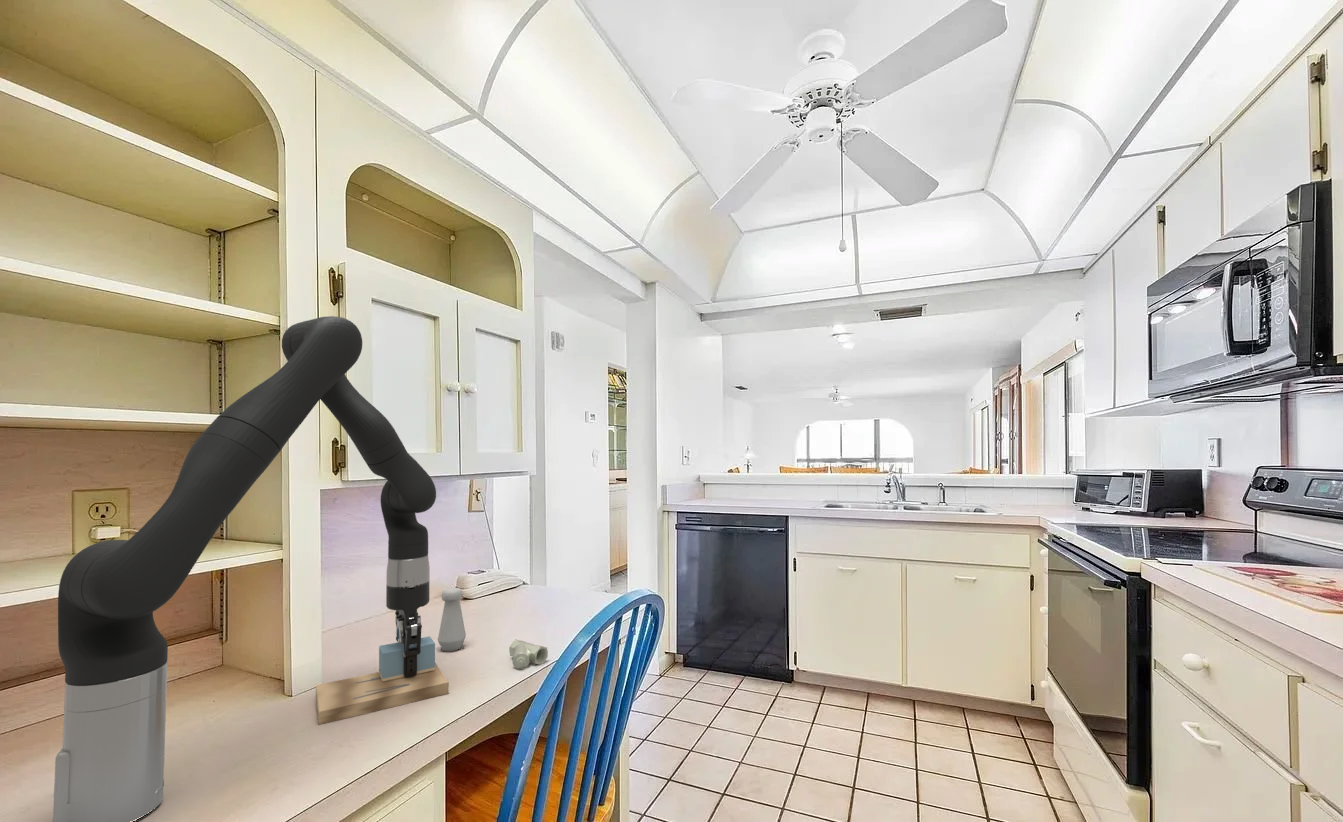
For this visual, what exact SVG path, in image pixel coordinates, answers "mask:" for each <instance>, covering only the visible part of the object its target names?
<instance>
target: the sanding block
mask: <svg viewBox="0 0 1343 822" xmlns="http://www.w3.org/2000/svg"><path fill="white" fill-rule="evenodd" d="M412 648H414V644H411V645H409V649H412ZM420 649H421V652H420V654H418V655H417V674H420V673H424V672H429V671H433V670H435V663H436V642H435V641H434V640H433V639H432V637H431V636H424V637H421V647H420ZM378 653H379V654H378V672H379V674H380V677H381V679H382V682H383V681H388V680H392V679H397V678H401V677H404V656H403V645H402V644H400V642H397V641H396V642H393V643H388V644H382V645H379V646H378Z"/></svg>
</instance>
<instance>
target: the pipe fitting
mask: <svg viewBox="0 0 1343 822" xmlns="http://www.w3.org/2000/svg"><path fill="white" fill-rule="evenodd" d="M509 656H510V657H512V665H513V667H514V668H515V669H516V670H520V669H526V668H527V667H528V666H529V664H530V663H532V664H537V665H543V664H545V662H546V660H547V659H548V657H549V651H548V647H545V646H542V645H539V644H534V643H531V642H527V641H524V640H520V639H515V640H513V641H512V643H510V645H509Z"/></svg>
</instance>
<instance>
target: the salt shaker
mask: <svg viewBox="0 0 1343 822" xmlns="http://www.w3.org/2000/svg"><path fill="white" fill-rule="evenodd" d="M462 598H463V590H462V589H461V588H459V587H449V588H448V587H447V588H445V589H444V590H443V591H442V592H441V600H442V601H444V605H443V609H442V614H441V615H442V617H441V621H440V626H439V632H438V636H437V642H438V644H439V646H440V648H441V650H442V652H449V651H451V652H454V650H455V651H458V649H459V650H460V649H461V648H462V647H463V645H464V643H465V640H466V637H467V636H466V635H467V633H466V629H465V623H464V617H463V612H462V606H461V599H462Z"/></svg>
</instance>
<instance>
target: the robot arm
mask: <svg viewBox="0 0 1343 822" xmlns="http://www.w3.org/2000/svg"><path fill="white" fill-rule="evenodd" d="M362 350H363V337H362V333H361V331H360V329H359V328H358V327H357V325H356V324H355V323H353V321H351V320H350V319H347V318H345V317H341V316H335V315H334V316H333V315H330V316H321V317H317V318H313V319H308V320H303V321H300V322H298V323H294V324H292V325H290V326H289V327H288V328H287V329H286V330H285V331H284V333H283V335H282V339H281V351H282V353H283V355H284V357H285V359H286V361H287V362H286V363H285V364H284V365H283V366H282V367H281V368H280V369H278V371H277V372H275V373H274V374H272V376H270V377H268V378H267V379H266V380H264V381H262V382H261V383H259V384H258V385H257V386H255V387H253V388H252V389H250V390H249V391H247V392H246V393H245V394H243V395H241V396H240V397H239V398H237V399H236V400H235V401H234V402H232V403H231V404H230V405H229V406H228V407H226V408H225V409H224V410H223V411H222V412H220V414H219V415H218V416H217V417H216V418H215V419H214V420H213V421H212V422H211V423H210V425H208V426H207V427H206V429H205V430H204V431H202V433H201V434H200V436H199V437H198V438H197V439H196V440H195V441H194V443H192V445H191V447H190V448H189V450H188V452H187V454H186V456H185V458H184V461H183V463H182V465H181V468H180V471H179V474H178V476H177V479H176V482H175V484H174V487H173V489H172V490H171V492H170V494H169V496H168V497H167V499H165V501H164V503H163V504H162V505H161V507H160V508H159V509H158V510H157V511H156V512H155V513H154V514H153V515H152V517H151V518H149V520H147V522H146V523H145V524H144V525H142V527H141V528H140V529H139V530H137V532H135V534H133V535H132V536H131V537H130V538H129V539H109V540H102V541H100V542H96V543H93V544H90V545H89V546H87V547H85V548H83V549H82V550H80V551H79V552H78V553H76V555H74V556H73V557H72V558H71V559H70V560H69V562H67V564H66V566H65V567H64V569H63V572H62V573H61V576H60V581H59V585H58V593H57V594H58V595H57V596H58V597H57V639H58V640H57V641H58V643H57V644H58V646H57V647H58V653H59V657H60V659H61V661H62V664H63V666H64V682H65V684H64V704H63V705H64V706H63V722H62V724H63V727H62V745H61V746H62V747H61V749H60V750H59V751H58V753H57V754H56V756H55V758H54V759H55V761H54V787H53V788H54V789H53V807H52V811H53V812H52V822H130V821H133V820H135V819H137V818H139V817H141V816H143V815H145V814H147V813H148V812H150V811H151V810H153V809H154V808H156V807H157V806H158V805H159V804H160V803H161V804H162V802H163V800H164V799H163V798H164V787H165V779H164V778H165V755H166V753H165V752H166V751H165V750H166V721H167V720H166V719H167V718H166V716H167V714H166V713H167V690H168V689H167V688H168V687H167V686H168V685H167V684H168V683H167V681H168V657H169V656H168V651H169V649H168V648H169V647H168V641H167V639H166V638H165V637H164V635H163V634H162V633H161V632H160V631H159V629H158V627H157V625H156V622H155V619H154V612H156V611H157V610H159V609H160V608H161V607H163V606H164V605H165V604H167V603H168V601H170V599H172V597H174V595H175V594H176V593H177V592H178V591H179V589H180V587H182V584H184V582H185V581H186V579H187V577H188V576H189V574H190V572H191V571H192V569H194V566H195V565H196V564H197V561H198V560H199V558H200V557H201V555H202V554H203V552H204V551H205V549H206V548H207V546H208V545H209V543H210V541H211V540H212V539H213V537H214V535H215V534H216V532H218V530H219V529H220V527H221V525H222V524H223V523H224V521H225V520H226V519H227V517H228V516H229V515H230V514H231V513H232V512H233V511H234V509H235V508H236V507H237V505H238V504H239V503H240V502H241V501H242V499H243V498H244V497H245V495H246V494H247V492H248V491H249V490H250V489H251V487H252V486H253V485H254V484H255V482H256V481H257V480H259V478H260V477H261V475H262V474H263V473H265V471H266V470H267V469H268V467H269V466H270V465H271V464H272V462H273V461H274V460H275V459H276V458H277V456H278V454H279V453H280V452H281V451H282V449H283V447H284V446H285V445H286V444H287V442H288V441H289V440H290V439H291V437H292V436H293V434H294V433H295V432H296V431H297V430H298V428H299V427H300V425H302V423H303V422H304V420H306V418H307V417H308V415H309V414H310V413H311V412H312V410H313V409H314V407H315V406H316V405H317V404H318V402H320V401H321V402H322V403H323V404H324V406H325V407H326V408H327V409H328V410H329V412H330V413H331V414H332V415H333V416H334V418H335V419H336V420H337V421H338V423H339V424H340V426H341V427H342V428H343V429H344V431H345V432H346V433H347V435H348V436H349V438H350V440H351V441H352V443H353V444H354V446H355V448H356V449H357V451H358V453H359V454H360V455H361V458H362V459H363V460H364V462H365V464H366V465H367V467H368V468H369V470H370V471H371V472H372V473H373V474H374V475H376V476H378V477H381V478H383V479H386V480H387V481H385V483H384V484H383V487H382V489H381V493H380V508H381V513H382V518H383V521H384V525H385V529H386V531H387V532H386V533H387V535H388V543H387V545H388V546H387V547H388V548H387V564H386V565H387V566H386V577H385V578H386V593H385V596H386V597H385V598H386V600H385V601H386V602H385V606H386V608H387V609H388V610H391V611H395V612H394V615H395V618H394V619H395V620H394V622H395V636H396V637H395V641H396V643H397V642H400V644H402V645H403V656H404V677H405V678H408V677H412V676H415V675H416V674H417V655H418V654H420V652H421V649H420V647H421V638H422V628H423V624H422V617H421V615H419V612H418V609H419V608H421V607H422V608H423V607H425V606H427V605H428V604H429V602H430V573H431V572H430V561H429V531H428V529H427V527H426V526H425V525H423V524H421V523H419V521H418V520H417V517H416V516H417V515H416V514H419V513H420V514H421V513H425V512H427V511H428V510H430V509H431V508H432V507H433V506H434V504H435V502H436V498H437V488H436V485H435V482H434V481H433V479H432V477H431V476H430V474H429V473H428V472H427V471H426V470H425V469H424V468H423V467H422V466H421V464H420V463H418V461H417V460H416V459H415V457H413V456H412V455H411V454H409V452H408V450H407V449H406V447H405V446H404V443H403V441H402V440H401V439H400V437H399V435H398V432H397V430H395V428H394V426H393V425H392V423H391V422H390V421H389V420H388V419H387V418H386V417H385V415H384V414H382V412H380V410H378V408H376V407H375V405H373V404H371V403H370V402H369V401H368V400H367V399H366V398H365V397H364V396H363V395H362V394H361V393H360V392H359V391H358V390H357V388H355V386H354V385H353V384H352V383H351V382H350V380H349V379H348V377H347V375H346V373H348V371H349V370H350V369H352V368H353V366H354V365H355V364H356V363H357V361H358V360H359V358H360V356H361V353H362ZM411 644H414V648H412V649H409V645H411ZM162 799H163V800H162ZM161 801H162V802H161ZM161 804H160V805H161ZM160 805H159V806H160ZM159 806H158V807H159ZM158 807H157V808H158ZM157 808H156V809H157ZM153 811H154V810H153Z"/></svg>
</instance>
